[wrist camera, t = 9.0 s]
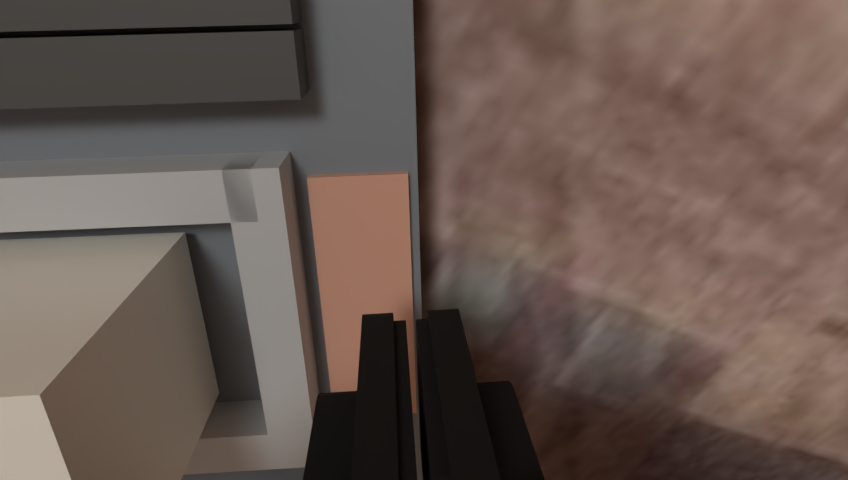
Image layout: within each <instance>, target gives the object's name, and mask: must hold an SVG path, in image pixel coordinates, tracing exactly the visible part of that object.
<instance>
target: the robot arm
mask: <svg viewBox="0 0 848 480" xmlns="http://www.w3.org/2000/svg"><path fill="white" fill-rule="evenodd" d="M416 346H417V373H418V400H419V427H420V449H421V463H422V475H423V480H544V477H543V474H542V471H541V468H540V465H539V462H538V459H537V456H536V453H535V450H534V447H533V445H532V442H531V439H530V436H529V433H528V430H527V427H526V424H525V421H524V418H523V415H522V412H521V409H520V406H519V403H518V400H517V397H516V394H515V392H514V389H513V386H512V384H511V383H510V382H509V381H501V382H485V383H477V382H476V378H475V374H474V370H473V366H472V362H471V358H470V354H469V350H468V346H467V341H466V337H465V333H464V329H463V325H462V321H461V317H460V313H459V310H458V309H447V310H430V311H427V319H416ZM303 480H417V468H416V454H415V440H414V426H413V412H412V398H411V384H410V370H409V357H408V343H407V329H406V320H399V321H394V316H393V313H378V314H363V315H362V324H361V339H360V353H359V368H358V383H357V391H346V392H330V393H319V394H318V396H317V400H316V405H315V411H314V417H313V423H312V428H311V434H310V440H309V446H308V452H307V458H306V464H305V470H304V476H303Z"/></svg>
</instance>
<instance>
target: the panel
mask: <svg viewBox="0 0 848 480" xmlns="http://www.w3.org/2000/svg"><path fill="white" fill-rule="evenodd" d="M177 232H185V234H186V239H187V243H188V248H189V253H190V257H191V262H192V267H193V272H194V276H195V281H196V286H197V290H198V295H199V300H200V305H201V309H202V314H203V319H204V323H205V328H206V333H207V338H208V342H209V347H210V352H211V356H212V361H213V366H214V371H215V375H216V380H217V385H218V389H219V395H218V397H217V399H216V401H215V404H214V406H213V408H212V411H211V413H210V415H209V417H208V420H207V422H206V424H205V427H204V429H203V431H202V433H201V436H200V438H199V440H198V443H197V445H196V447H195V449H194V452H193V454H192V456H191V459H190V461H189V463H188V465H187V468H186V470H185V472H184V475H183V477H182V479H181V480H303V476H304V470H305V464H306V458H307V452H308V446H309V440H310V434H311V428H312V423H313V417H314V411H315V405H316V400H317V396H318V394H319V393H330V392H346V391H357V383H358V368H359V353H360V339H361V324H362V315H363V314H378V313H393V316H394V321H399V320H406V329H407V343H408V357H409V370H410V384H411V398H412V412H413V426H414V440H415V454H416V468H417V480H423V475H422V463H421V449H420V427H419V400H418V373H417V346H416V319H422V303H421V268H420V233H419V199H418V164H417V129H416V94H415V59H414V24H413V0H0V240H13V239H36V238H60V237H83V236H107V235H130V234H154V233H177Z"/></svg>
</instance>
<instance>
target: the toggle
mask: <svg viewBox="0 0 848 480" xmlns="http://www.w3.org/2000/svg"><path fill="white" fill-rule="evenodd" d="M218 395H219V389H218V385H217V380H216V375H215V371H214V366H213V361H212V356H211V352H210V347H209V342H208V338H207V333H206V328H205V323H204V319H203V314H202V309H201V305H200V300H199V295H198V290H197V286H196V281H195V276H194V272H193V267H192V262H191V257H190V253H189V248H188V243H187V239H186V234H185V232H177V233H154V234H130V235H107V236H83V237H60V238H36V239H13V240H0V480H181V479H182V477H183V475H184V472H185V470H186V468H187V465H188V463H189V461H190V459H191V456H192V454H193V452H194V449H195V447H196V445H197V443H198V440H199V438H200V436H201V433H202V431H203V429H204V427H205V424H206V422H207V420H208V417H209V415H210V413H211V411H212V408H213V406H214V404H215V401H216V399H217V397H218Z"/></svg>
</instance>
